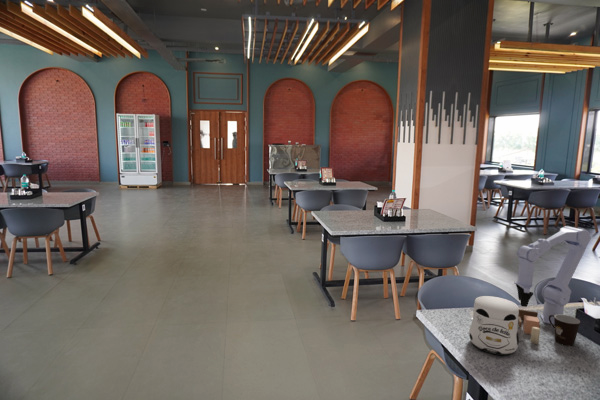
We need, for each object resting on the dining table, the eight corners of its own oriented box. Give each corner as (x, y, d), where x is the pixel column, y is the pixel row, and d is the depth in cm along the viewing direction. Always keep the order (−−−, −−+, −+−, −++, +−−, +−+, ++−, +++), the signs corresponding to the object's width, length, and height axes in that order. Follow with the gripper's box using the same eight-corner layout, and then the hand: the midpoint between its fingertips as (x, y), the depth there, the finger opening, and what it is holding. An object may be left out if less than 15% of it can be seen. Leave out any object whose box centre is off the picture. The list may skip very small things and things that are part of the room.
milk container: (486, 360, 142) (490, 313, 139) (459, 337, 159) (463, 295, 156) (528, 357, 144) (533, 311, 142) (497, 335, 161) (501, 294, 159)
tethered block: (522, 328, 168) (524, 315, 168) (536, 330, 166) (537, 317, 166) (527, 342, 156) (529, 328, 155) (542, 345, 154) (543, 331, 153)
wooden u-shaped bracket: (516, 319, 177) (517, 308, 177) (536, 322, 174) (537, 312, 174) (519, 327, 169) (520, 316, 169) (539, 330, 166) (541, 319, 166)
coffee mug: (581, 349, 152) (584, 324, 150) (557, 346, 153) (560, 322, 152) (567, 335, 163) (570, 312, 162) (545, 332, 165) (547, 310, 163)
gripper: (513, 267, 177) (510, 296, 179) (517, 277, 164) (514, 307, 166) (531, 269, 175) (528, 298, 176) (536, 279, 161) (533, 310, 163)
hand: (522, 303), depth 171 cm, fingers open, 7 cm apart
